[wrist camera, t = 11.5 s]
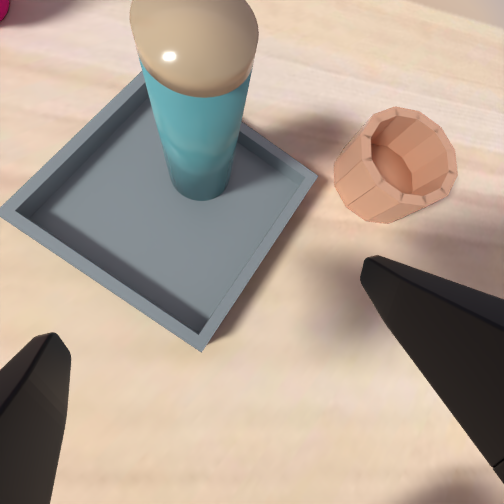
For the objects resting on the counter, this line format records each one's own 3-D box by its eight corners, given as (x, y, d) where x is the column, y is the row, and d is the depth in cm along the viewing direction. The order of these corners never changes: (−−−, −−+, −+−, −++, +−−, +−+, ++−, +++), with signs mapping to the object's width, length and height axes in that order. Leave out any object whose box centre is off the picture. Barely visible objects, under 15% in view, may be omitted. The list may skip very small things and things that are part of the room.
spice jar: (233, 152, 23) (264, -8, 11) (226, 205, 22) (251, 90, 10) (174, 140, 22) (143, -43, 11) (164, 195, 21) (117, 58, 9)
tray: (306, 188, 24) (318, 175, 22) (201, 347, 20) (201, 352, 18) (158, 84, 24) (153, 59, 22) (19, 224, 20) (-6, 213, 17)
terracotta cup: (427, 174, 27) (470, 148, 23) (393, 240, 25) (433, 226, 21) (359, 124, 27) (389, 89, 23) (318, 187, 25) (343, 161, 20)
